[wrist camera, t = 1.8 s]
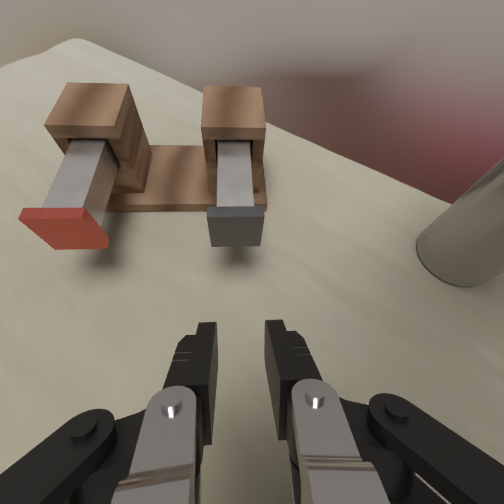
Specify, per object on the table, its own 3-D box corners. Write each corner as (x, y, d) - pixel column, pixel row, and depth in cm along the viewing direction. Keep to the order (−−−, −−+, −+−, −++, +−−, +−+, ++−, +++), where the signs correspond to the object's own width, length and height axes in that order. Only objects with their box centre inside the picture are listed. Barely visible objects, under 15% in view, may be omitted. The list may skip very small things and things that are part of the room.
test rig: (260, 153, 43) (267, 78, 33) (266, 210, 38) (276, 140, 27) (105, 152, 42) (63, 73, 32) (85, 212, 36) (26, 137, 26)
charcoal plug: (252, 151, 36) (255, 115, 31) (260, 246, 28) (264, 216, 24) (214, 150, 35) (211, 114, 31) (211, 246, 28) (206, 217, 23)
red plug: (132, 150, 35) (117, 112, 30) (107, 248, 27) (81, 218, 23) (92, 150, 34) (70, 112, 30) (54, 249, 27) (17, 219, 22)
